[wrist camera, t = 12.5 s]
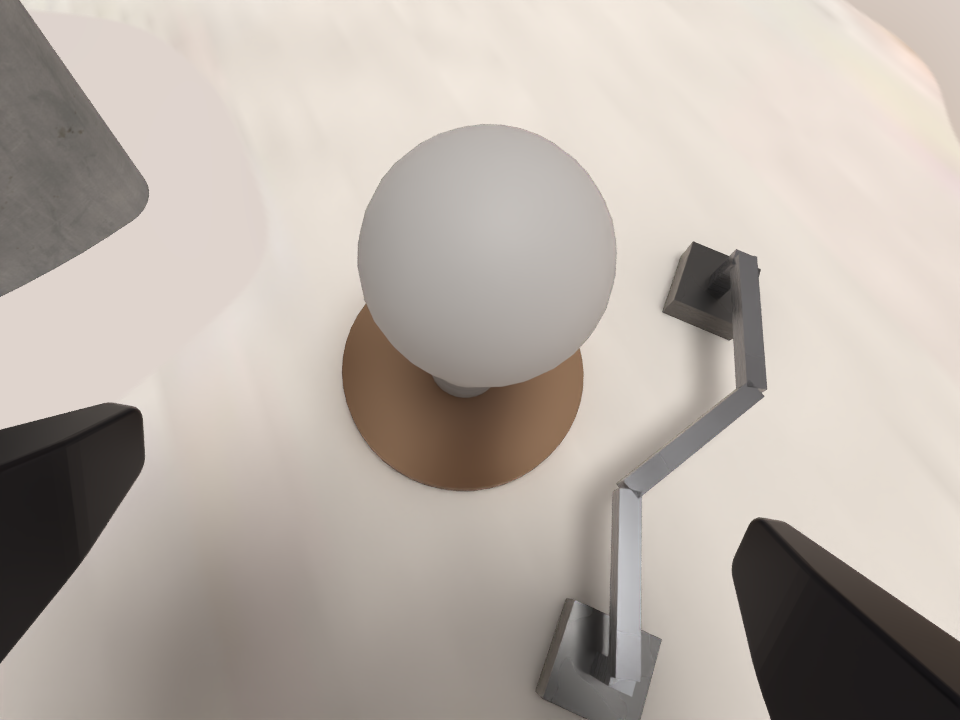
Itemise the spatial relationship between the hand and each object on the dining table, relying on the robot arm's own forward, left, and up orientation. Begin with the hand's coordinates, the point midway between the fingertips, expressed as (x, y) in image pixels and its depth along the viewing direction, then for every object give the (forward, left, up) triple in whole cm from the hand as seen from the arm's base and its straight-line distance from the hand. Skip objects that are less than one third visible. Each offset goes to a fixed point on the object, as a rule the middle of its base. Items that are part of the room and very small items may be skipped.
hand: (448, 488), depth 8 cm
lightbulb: (+2, +6, -12) cm, 13 cm away
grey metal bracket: (+9, +1, -12) cm, 15 cm away
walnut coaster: (+2, +6, -12) cm, 14 cm away
